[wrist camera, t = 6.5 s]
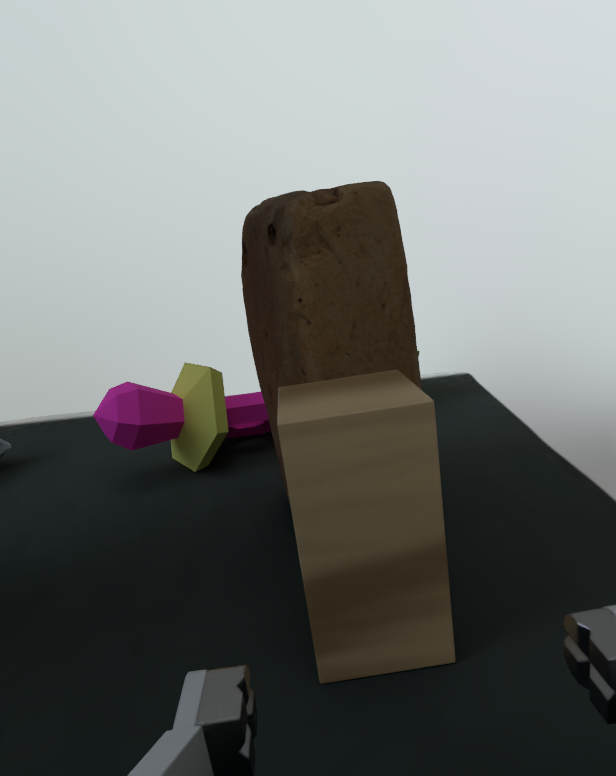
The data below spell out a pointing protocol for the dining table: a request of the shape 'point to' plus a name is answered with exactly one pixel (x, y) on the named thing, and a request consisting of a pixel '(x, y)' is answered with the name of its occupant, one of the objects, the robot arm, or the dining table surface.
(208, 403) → the toy
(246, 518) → the dining table surface
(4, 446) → the packaged food
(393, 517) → the maple block
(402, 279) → the block
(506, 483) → the dining table surface
